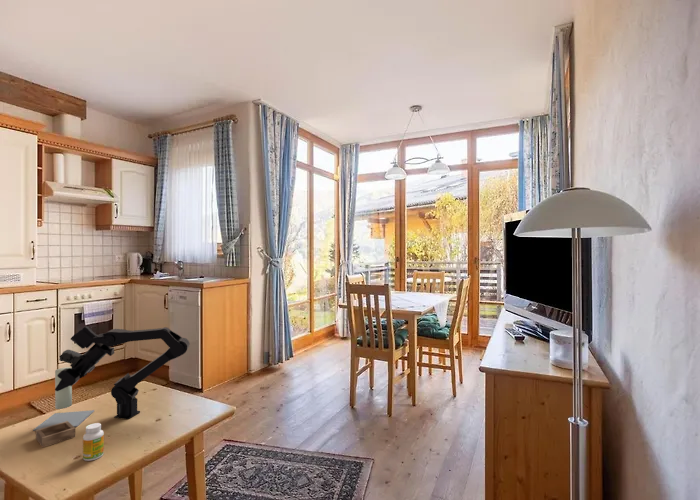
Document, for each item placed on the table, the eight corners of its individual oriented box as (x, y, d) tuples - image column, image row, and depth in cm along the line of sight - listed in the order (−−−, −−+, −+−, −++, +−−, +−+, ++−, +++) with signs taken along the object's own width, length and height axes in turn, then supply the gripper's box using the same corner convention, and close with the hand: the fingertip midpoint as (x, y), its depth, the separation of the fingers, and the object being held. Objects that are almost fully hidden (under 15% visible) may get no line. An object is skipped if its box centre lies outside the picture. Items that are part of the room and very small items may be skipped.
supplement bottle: (93, 462, 115) (93, 430, 115) (78, 460, 116) (78, 428, 116) (107, 453, 120) (107, 422, 120) (93, 451, 121) (93, 421, 121)
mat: (94, 411, 151) (94, 410, 151) (76, 426, 138) (76, 425, 138) (55, 414, 149) (55, 413, 149) (33, 430, 135) (33, 429, 135)
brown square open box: (67, 429, 136) (67, 420, 136) (75, 436, 130) (75, 428, 130) (35, 438, 129) (35, 430, 129) (42, 447, 123) (42, 438, 123)
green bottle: (72, 406, 142) (72, 369, 142) (56, 410, 138) (56, 372, 138) (70, 402, 145) (70, 366, 145) (54, 406, 142) (54, 369, 142)
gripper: (85, 337, 152) (54, 366, 149) (63, 348, 134) (27, 382, 131) (107, 355, 154) (77, 384, 151) (89, 368, 136) (53, 402, 133)
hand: (59, 387), depth 142 cm, fingers closed on green bottle, 5 cm apart
